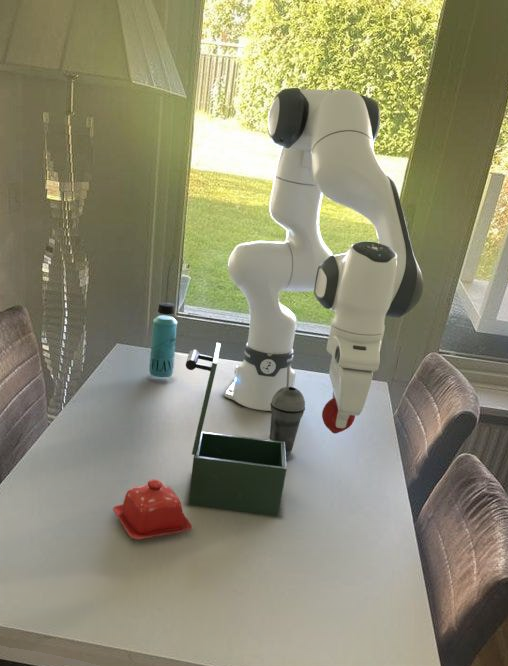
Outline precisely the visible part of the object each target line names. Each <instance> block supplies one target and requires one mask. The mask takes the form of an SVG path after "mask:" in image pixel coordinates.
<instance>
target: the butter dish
mask: <svg viewBox="0 0 508 666" xmlns="http://www.w3.org/2000/svg"><path fill="white" fill-rule="evenodd" d="M112 510H113V512H114V513H115V516H116V517H117V518H118V520H119V522H120V524H121V525H122V526H123V528H124V530H125V531H126V533H127V534H128V536H129V537H130V538H131V539H133V540H142V539H149V538H153V537H161V536H166V535H171V534H177V533H183V532H189V531H191V530H192V529H193V525H192V523H191V522H190V520H189V519H188V517H187V516H186V515H185V514H184V511H183V505H182V501H181V500H180V498H179V496H178V495H177V493H176V492H175V491H174V490H173V489H172V488H171V487H169V486H167V485H165V484H163V482H162V481H161V480H159V479H154V478H153V479H149V480H148V481H147V484H143V485H137V486H134V487H132V488H130V489H128V490H127V491H126V493H125V496H124V500H123V503H122V504H118V505H115V506H113V508H112Z"/></svg>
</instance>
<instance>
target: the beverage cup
mask: <svg viewBox="0 0 508 666" xmlns="http://www.w3.org/2000/svg"><path fill="white" fill-rule="evenodd" d="M289 375H290V366H288V367H287V385H286V387H284V388H281V389H280V390H278V391H277V392H276V393H275V395H274V396H273V399H272V402H271V411H270V414H271V415H270V427H269V428H270V429H269V440H273V441H281V442H285V453H286V461H287V460H289V459H290V457H291V454H292V452H293V448H294V445H295V441H296V437H297V433H298V430H299V426H300V424H301V423H300V422H301V419H302V418H303V415H304V412H305V410H306V401H305V397H304V394H303V393H302V392H301V391H300V390H299V389H298V388H297V387H295V386H294V387H289Z"/></svg>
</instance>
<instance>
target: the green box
mask: <svg viewBox="0 0 508 666" xmlns="http://www.w3.org/2000/svg"><path fill="white" fill-rule="evenodd" d="M191 468H192V470H191V479H190V488H189V496H188V505H190V506H198V507H205V508H206V507H207V508H214V509H220V510H228V511H235V512H244V513H250V514H259V515H266V516H273V517H274V516H275V517H279V513H280V507H281V503H282V496H283V491H284V485H285V481H286V474H287V460H286V453H285V442H281V441H273V440H270V439H264V438H256V437H249V436H241V435H232V434H225V433H216V432H208V431H202V432H201V436H200V441H199V445H198V449H197V453H196V455H193V459H192V467H191Z"/></svg>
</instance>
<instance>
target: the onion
mask: <svg viewBox="0 0 508 666" xmlns="http://www.w3.org/2000/svg"><path fill="white" fill-rule="evenodd" d="M337 414H338V407H337V403H336V399H335V398H333V397H332V398H331V399H329V400H328V401H327V402H326V403H325V405H324V407H323V409H322V412H321V419H322V422H323V424H324V426H325V427H326V428H327V429H328V430H329V431H330V432H331V433H332V434H338V433H342V432H344V431H346V430H348V429H349V428H351V426H352V425H353V423H354V421H355V419H356V415H350V416H349V418H348V420H347V424H346V427H345V428H337V427H336V425H335V420H336V415H337Z"/></svg>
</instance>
